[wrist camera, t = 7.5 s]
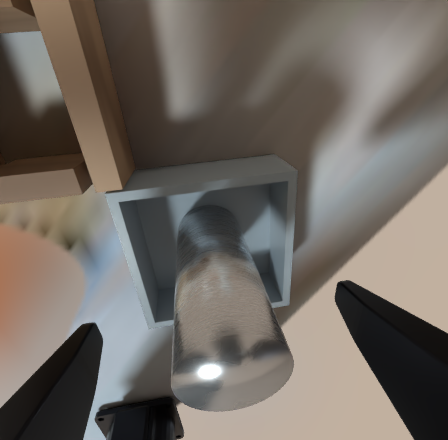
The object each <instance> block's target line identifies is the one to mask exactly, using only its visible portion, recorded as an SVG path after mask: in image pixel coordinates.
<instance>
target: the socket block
mask: <svg viewBox="0 0 448 440" xmlns="http://www.w3.org/2000/svg"><path fill="white" fill-rule="evenodd" d="M29 31H41V33H42V36H43V39H44V42H45V45H46V48H47V51H48V54H49V57H50V60H51V63H52V65H53V68H54V71H55V74H56V77H57V80H58V83H59V86H60V89H61V92H62V95H63V98H64V101H65V103H66V106H67V109H68V112H69V115H70V118H71V121H72V124H73V127H74V130H75V133H76V136H77V138H78V141H79V144H80V147H81V150H82V153H74V154H64V155H55V156H46V157H36V158H27V159H17V160H14V161H12V162H9V163H7V164H6V163H5V160H4V158H3V156H2V154H1V152H0V204H6V203H14V202H22V201H31V200H39V199H47V198H56V197H64V196H72V195H80V194H83V193H84V192H85V191H86V190H87V189H88V188H89V187H90V186H91V185H92V184H93V185H94V188H95V191H96V193H97V192H105V191H113V190H122V189H123V188H124V186H125V185H126V183H127V181H128V180H129V178H130V176H131V175H132V173H133V172H134V170H135V164H134V160H133V156H132V152H131V148H130V144H129V140H128V136H127V132H126V128H125V124H124V120H123V116H122V112H121V108H120V104H119V100H118V96H117V92H116V88H115V84H114V80H113V76H112V71H111V67H110V63H109V59H108V55H107V51H106V47H105V43H104V39H103V35H102V31H101V27H100V23H99V19H98V15H97V11H96V7H95V3H94V0H0V33H13V32H29Z"/></svg>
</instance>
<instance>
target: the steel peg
mask: <svg viewBox="0 0 448 440" xmlns="http://www.w3.org/2000/svg"><path fill="white" fill-rule="evenodd" d="M293 367H294V360H293V356H292V354H291V351H290V349H289V346H288V344H287V341H286V339H285V337H284V334H283V332H282V329H281V327H280V324H279V322H278V319H277V317H276V314H275V312H274V309H273V307H272V304H271V302H270V300H269V297H268V295H267V292H266V290H265V287H264V285H263V282H262V280H261V277H260V275H259V272H258V270H257V268H256V265H255V263H254V260H253V258H252V255H251V253H250V250H249V248H248V245H247V243H246V240H245V238H244V235H243V233H242V231H241V228H240V226H239V223H238V221H237V219H236V217H235V216H234V215H233V214H232V213H231V212H230V211H229V210H227V209H225V208H223V207H220V206H216V205H204V206H200V207H197V208H195V209H193V210H191V211H190V212H188V213H187V214H186V215H185V216H184V217H183V219H182V220H181V222H180V224H179V226H178V233H177V256H176V278H175V300H174V323H173V345H172V368H171V388H172V391H173V393H174V395H175V396H176V398H177V399H178V400H180V401H181V402H182V403H184V404H185V405H187V406H189V407H192V408H195V409H199V410H204V411H216V412H217V411H230V410H237V409H240V408H245V407H248V406H251V405H254V404H257V403H259V402H261V401H263V400H265V399H267V398H268V397H270V396H272V395H273V394H274V393H276V392H277V391H278V390H280V389H281V388H282V387H283V386H284V385H285V384H286V382H287V381H288V380H289V378H290V376H291V374H292V371H293Z"/></svg>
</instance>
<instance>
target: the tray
mask: <svg viewBox="0 0 448 440" xmlns="http://www.w3.org/2000/svg"><path fill="white" fill-rule="evenodd" d="M297 179H298V170H297V169H295V168H294V167H292V166H291V165H290V164H288V163H287V162H285V161H284V160H282V159H281V158H280V157H278V156H277V155H275V154H272V155H263V156H254V157H246V158H237V159H228V160H219V161H211V162H202V163H193V164H184V165H176V166H167V167H158V168H149V169H141V170H134V172H133V173H132V175H131V176H130V178H129V180H128V181H127V183H126V185H125V186H124V188H123V189H122V190H113V191H107V192H106V193H105V196H106V199H107V202H108V205H109V208H110V211H111V214H112V218H113V221H114V224H115V227H116V230H117V233H118V236H119V239H120V242H121V245H122V248H123V251H124V254H125V258H126V261H127V264H128V267H129V270H130V273H131V276H132V279H133V282H134V285H135V288H136V291H137V294H138V297H139V301H140V304H141V307H142V310H143V313H144V316H145V319H146V322H147V325H148V328H149V329H154V328H159V327H165V326H171V325H173V323H174V300H175V278H176V256H177V233H178V226H179V224H180V222H181V220H182V219H183V217H184V216H185V215H186V214H187V213H188V212H190V211H191V210H193V209H195V208H197V207H200V206H204V205H216V206H220V207H223V208H225V209H227V210H229V211H230V212H231V213H232V214H233V215H234V216H235V217H236V219H237V221H238V223H239V226H240V228H241V231H242V233H243V235H244V238H245V240H246V243H247V245H248V248H249V250H250V253H251V255H252V258H253V260H254V263H255V265H256V268H257V270H258V272H259V275H260V277H261V280H262V282H263V285H264V287H265V290H266V292H267V295H268V297H269V300H270V302H271V304H272V307H273V308H276V307H282V306H287V305H289V302H290V287H291V272H292V256H293V241H294V226H295V210H296V195H297Z"/></svg>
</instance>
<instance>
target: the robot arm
mask: <svg viewBox="0 0 448 440" xmlns="http://www.w3.org/2000/svg"><path fill="white" fill-rule="evenodd" d="M335 302H336V305H337V307H338V309H339V310H340V313H341V315H342V317H343V319H344V321H345V323H346V325H347V327H348V329H349V332H350V334H351V336H352V338H353V340H354V341H355V343H356V345H357V347H358V348H359V350H360V351H361V353H362V355H363V356H364V358H365V360H366V361H367V363H368V365H369V366H370V368H371V370H372V371H373V373H374V374H375V376H376V378H377V379H378V381H379V383H380V384H381V386H382V388H383V389H384V391H385V392H386V394H387V396H388V397H389V399H390V401H391V402H392V404H393V406H394V407H395V409H396V411H397V412H398V414H399V416H400V417H401V419H402V420H403V422H404V424H405V425H406V427H407V429H408V430H409V432H410V433H411V435H412V437H413V438H414V440H448V333H446V332H444V331H442V330H441V329H439V328H437V327H435V326H433V325H431V324H429V323H428V322H426V321H424V320H422V319H420V318H418V317H416V316H415V315H413V314H411V313H409V312H407V311H405V310H404V309H402V308H400V307H398V306H396V305H394V304H392V303H390V302H389V301H387V300H385V299H383V298H381V297H379V296H377V295H375V294H374V293H371V292H370V291H368V290H366V289H364V288H363V287H361V286H359V285H357V284H355V283H353V282H352V281H349V280H346V281H340V282H338V283H337V288H336V293H335ZM102 347H103V338H102V335H101V333H100V331H99V329H98V327H97V325H96V323H93V322H92V323H86V324H82V325H81V326H80V327H79V328H78V329H77V330H76V331H75V332H74V333H73V334H72V335H71V336H70V337H69V338H68V339H67V340H66V341H65V342H64V343H63V344H62V345H61V346H60V347H59V348H58V349H57V351H55V353H54V354H53V355H52V356H51V357H50V358H49V359H48V360H47V361H46V362H45V363H44V364H43V365H42V366H41V367H40V368H39V369H38V370H37V371H36V372H35V373H34V374H33V375H32V376H31V377H30V378H29V379H28V380H27V381H26V382H25V383H24V384H23V385H22V386H21V387H20V389H19V390H18V391H17V392H16V393H15V394H14V395H13V396H12V397H11V398H10V399H9V400H8V401H7V402H6V403H5V404H4V405H3V406H2V407H1V408H0V440H83V438H84V434H85V430H86V426H87V422H88V418H89V415H90V411H91V407H92V403H93V399H94V395H95V391H96V385H97V379H98V373H99V366H100V360H101V353H102ZM95 422H96V423H97V425H98V427H99V428H100V430H101V431H102V433H103V434H104V436H105V437H106V440H177V439H181V438H183V437H184V430H183V427H182V423H181V420H180V417H179V414H178V411H177V407H176V404H175V401H174V399H173V398H164V399H159V400H154V401H149V402H144V403H138V404H133V405H128V406H123V407H118V408H113V409H108V410H103V411H99V412H97V413H96V416H95Z"/></svg>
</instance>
